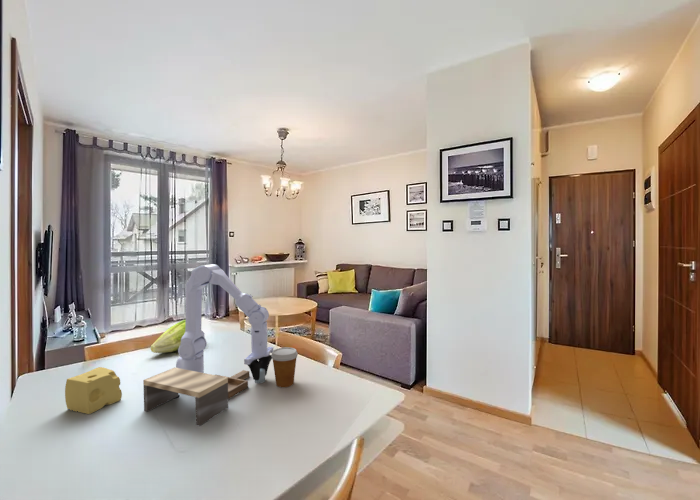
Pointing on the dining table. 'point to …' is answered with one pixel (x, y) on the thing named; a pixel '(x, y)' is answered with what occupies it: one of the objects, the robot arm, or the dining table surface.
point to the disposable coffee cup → (284, 366)
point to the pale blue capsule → (261, 376)
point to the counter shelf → (188, 391)
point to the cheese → (92, 390)
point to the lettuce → (170, 339)
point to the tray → (237, 383)
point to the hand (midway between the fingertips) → (259, 377)
